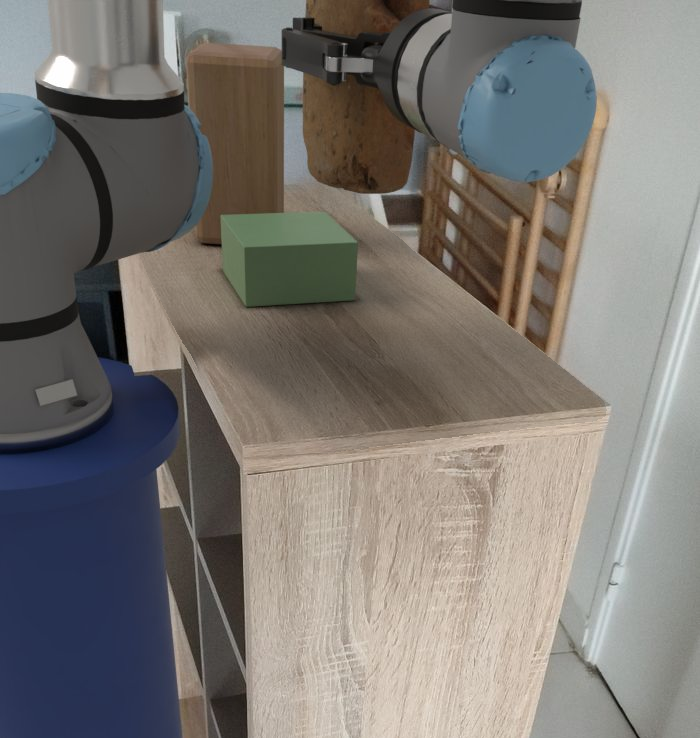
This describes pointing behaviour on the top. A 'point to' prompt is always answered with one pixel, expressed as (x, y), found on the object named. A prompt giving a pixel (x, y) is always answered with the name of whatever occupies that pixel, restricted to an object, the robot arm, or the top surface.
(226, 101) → the wooden block
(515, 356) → the top surface
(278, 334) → the top surface
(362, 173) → the brown porous chunk
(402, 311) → the top surface
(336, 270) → the green base
